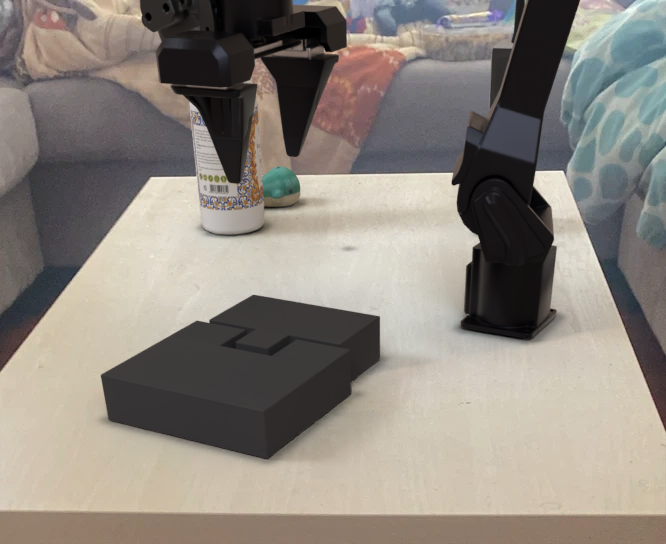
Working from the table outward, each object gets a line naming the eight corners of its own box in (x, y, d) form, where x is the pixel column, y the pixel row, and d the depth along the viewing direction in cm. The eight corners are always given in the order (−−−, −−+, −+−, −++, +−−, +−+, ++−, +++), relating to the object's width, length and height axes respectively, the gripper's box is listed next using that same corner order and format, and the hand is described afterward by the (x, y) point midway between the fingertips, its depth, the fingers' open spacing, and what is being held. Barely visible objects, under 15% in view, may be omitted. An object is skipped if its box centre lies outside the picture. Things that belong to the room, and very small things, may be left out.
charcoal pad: (351, 394, 79) (350, 349, 77) (267, 459, 71) (263, 411, 69) (201, 363, 85) (196, 319, 82) (108, 420, 77) (99, 374, 75)
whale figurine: (308, 207, 119) (306, 170, 116) (247, 215, 117) (244, 178, 114) (291, 194, 123) (289, 159, 120) (232, 203, 121) (228, 166, 118)
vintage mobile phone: (479, 235, 109) (498, -63, 93) (490, 221, 112) (509, -68, 96) (515, 237, 108) (539, -63, 92) (524, 224, 111) (549, -68, 95)
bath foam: (265, 234, 111) (250, 9, 98) (200, 237, 111) (177, 12, 98) (265, 216, 116) (251, 0, 103) (203, 219, 116) (181, 3, 103)
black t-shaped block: (380, 359, 84) (380, 315, 82) (321, 403, 78) (320, 358, 76) (256, 335, 89) (253, 294, 87) (191, 376, 83) (186, 332, 80)
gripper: (225, -82, 83) (241, 136, 93) (78, -62, 71) (115, 188, 81) (348, -82, 79) (351, 147, 89) (214, -60, 67) (236, 202, 77)
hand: (265, 169), depth 84 cm, fingers open, 9 cm apart
